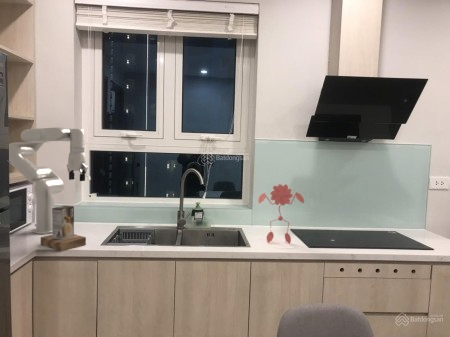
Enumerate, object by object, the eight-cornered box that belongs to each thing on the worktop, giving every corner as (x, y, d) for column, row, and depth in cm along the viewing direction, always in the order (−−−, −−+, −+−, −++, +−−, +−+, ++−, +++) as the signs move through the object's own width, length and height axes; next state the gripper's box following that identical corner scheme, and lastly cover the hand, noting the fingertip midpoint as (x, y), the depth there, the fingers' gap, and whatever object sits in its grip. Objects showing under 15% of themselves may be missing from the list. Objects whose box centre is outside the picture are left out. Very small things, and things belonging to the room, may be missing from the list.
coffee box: (64, 234, 187) (64, 205, 186) (74, 235, 185) (74, 206, 184) (51, 238, 178) (51, 208, 177) (62, 239, 176) (62, 209, 175)
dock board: (40, 244, 180) (40, 237, 180) (65, 238, 192) (65, 231, 192) (61, 251, 171) (61, 243, 171) (85, 244, 183) (85, 237, 183)
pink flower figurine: (256, 239, 206) (259, 181, 202) (299, 242, 203) (303, 183, 200) (256, 247, 190) (259, 185, 187) (303, 250, 188) (307, 187, 185)
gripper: (61, 149, 198) (61, 179, 199) (81, 151, 189) (80, 182, 190) (73, 149, 204) (73, 178, 205) (92, 151, 195) (92, 181, 196)
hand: (76, 180), depth 198 cm, fingers open, 9 cm apart
